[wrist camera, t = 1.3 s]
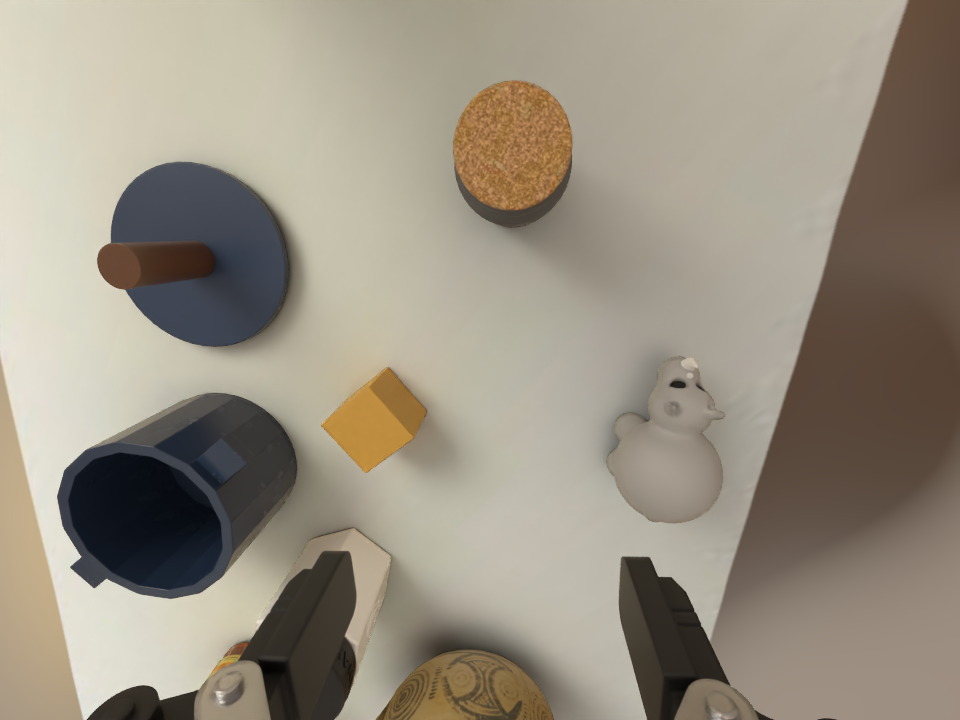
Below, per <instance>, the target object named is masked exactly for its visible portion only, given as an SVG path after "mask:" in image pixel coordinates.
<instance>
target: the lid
mask: <svg viewBox="0 0 960 720" xmlns="http://www.w3.org/2000/svg"><path fill="white" fill-rule="evenodd" d="M97 263H98V268H99V271H100V273H101V275H102V276H103V278H104V279H105V280H106V281H107V282H108V283H109V284H110V285H112V286H114V287H116V288H119V289H125V290H126V291H127V293H128V295H129V296H130V298H131V299H132V301H133V302H134V303H135V305H136V306H137V307H138V308H139V309H140V311H141V312H142V313H143V314H144V315H145V316H146V317H147V318H148V319H149V320H150V321H152V322H153V323H154V324H155V325H157V326H158V327H159V328H161V329H162V330H164V331H165V332H167V333H169V334H170V335H172V336H174V337H176V338H179V339H181V340H183V341H186V342H189V343H193V344H197V345H202V346H214V347H216V346H227V345H232V344H236V343H239V342H241V341H244V340H247V339H249V338H251V337H252V336H254V335H256V334H258V333H259V332H260V331H261V330H263V329H264V328H265V327H266V326H267V325H268V324H269V323H270V322H271V321H272V320H273V318H274V317H275V315H276V314H277V312H278V311H279V309H280V306H281V304H282V302H283V299H284V296H285V293H286V289H287V283H288V257H287V252H286V247H285V244H284V240H283V237H282V234H281V232H280V230H279V228H278V225H277V223H276V221H275V219H274V218H273V216H272V215H271V213H270V211H269V210H268V208H267V207H266V206H265V205H264V203H263V202H262V201H261V199H260V198H259V197H258V196H257V195H256V194H255V193H254V192H253V191H252V190H251V189H250V188H248V187H247V186H246V185H245V184H243V183H242V182H241V181H239V180H238V179H236V178H235V177H233V176H232V175H230V174H228V173H226V172H224V171H222V170H219V169H217V168H214V167H211V166H207V165H203V164H198V163H192V162H173V163H166V164H162V165H159V166H156V167H154V168H151V169H149V170H147V171H145V172H144V173H142V174H141V175H140V176H138V177H137V178H136V179H135V180H134V181H133V182H132V183H131V184H130V185H129V186H128V187H127V188H126V190H125V191H124V192H123V194H122V196H121V198H120V200H119V201H118V203H117V206H116V209H115V212H114V215H113V220H112V226H111V243H110V244H107V245H105V246H104V247H103V248H102V249H101V250H100V252H99V254H98V258H97Z"/></svg>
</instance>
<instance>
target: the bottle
mask: <svg viewBox="0 0 960 720" xmlns="http://www.w3.org/2000/svg"><path fill="white" fill-rule="evenodd" d="M453 154H454V160H455V174H456V180H457V183H458V186H459V189H460V191H461V193H462V195H463V197H464V199H465V200H466V202H467V203H468V204H469V206H470V207H471V208H472V209H473V210H474V211H475V212H476V213H478V214H479V215H480V216H481V217H483V218H485V219H486V220H488V221H490V222H493V223H495V224H498V225H501V226H505V227H520V226H524V225H527V224H530V223H532V222H534V221H536V220H538V219H539V218H541V217H542V216H544V215H545V214H546V213H547V212H549V211H550V210H551V209H552V208H553V207H554V206H555V205H556V203H557V202H558V201H559V199H560V198H561V196H562V195H563V193H564V191H565V189H566V187H567V184H568V181H569V178H570V173H571V167H572V134H571V128H570V124H569V121H568V118H567V116H566V114H565V112H564V110H563V108H562V107H561V105H560V104H559V102H558V101H557V100H556V99H555V98H554V97H553V96H552V95H551V94H550V93H549V92H548V91H546V90H544V89H543V88H541V87H539V86H537V85H535V84H532V83H528V82H524V81H505V82H501V83H497V84H494V85H492V86H490V87H488V88H486V89H485V90H483V91H481V92H480V93H479V94H478V95H477V96H475V97H474V98H473V99H472V100H471V101H470V103H469V104H468V105H467V107H466V108H465V110H464V111H463V113H462V115H461V117H460V118H459V121H458V124H457V127H456V130H455V135H454V141H453Z"/></svg>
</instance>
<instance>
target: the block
mask: <svg viewBox="0 0 960 720" xmlns="http://www.w3.org/2000/svg"><path fill="white" fill-rule="evenodd" d="M426 412H427V411H426V410H425V409H424V407H423V406H422V405H421V404H420V403H419V402H418V401H417V399H416V398H415V397H414V396H413V395H412V394H411V393H410V391H409V390H408V389H407V388H406V387H405V386H404V385H403V383H402V382H401V381H400V380H399V379H398V378H397V377H396V375H395V374H394V373H393V372H392V371H391V370H390V369H389V367H387V368H385V369H384V370H383V371H382V372H381V373H379V374H378V375H377V376H376V377H374V378H373V379H372V380H371V381H369V382H368V383H367V384H366V385H364V386H363V387H362V388H361V389H359V390H358V391H357V392H356V393H354V394H353V395H352V396H351V397H349V398H348V399H347V400H346V401H345V402H344V403H343V404H342V405H341V406H340V407H339V408H338V409H337V410H336V411H335V412H334V413H333V414H332V415H331V416H330V417H329V418H328V419H327V420H326V421H325V422H324V423H323V424H322V425H321V426H322V427H323V428H324V429H325V430H326V431H327V432H328V434H329V435H330V436H331V437H332V438H333V439H334V440H335V441H336V442H337V443H338V444H339V445H340V446H341V447H342V448H343V450H344V451H345V452H346V453H347V454H348V455H349V456H350V457H351V458H352V459H353V460H354V461H355V462H356V463H357V464H358V466H359V467H360V468H361V469H362V470H363V471H364V472H365V473H367V472H369V471H370V470H371V469H373V468H374V467H375V466H377V465H378V464H379V463H381V462H382V461H383V460H385V459H386V458H388V457H389V456H390V455H392V454H393V453H394V452H396V451H397V450H398V449H400V448H401V447H402V446H404V445H405V444H407V443H408V442H409V441H411V440H412V439H413V438H414V437H415V435H416V433H417V431H418V429H419V427H420V425H421V423H422V421H423V418H424V416H425V414H426Z"/></svg>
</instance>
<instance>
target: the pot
mask: <svg viewBox="0 0 960 720" xmlns="http://www.w3.org/2000/svg"><path fill="white" fill-rule="evenodd" d="M296 471H297V465H296V457H295V453H294V449H293V447H292V444H291V442H290V440H289V438H288V436H287V434H286V433H285V431H284V430H283V428H282V427H281V426H280V424H279V423H278V422H277V421H276V420H275V419H274V418H273V417H272V416H271V415H270V414H269V413H268V412H266V411H265V410H264V409H262V408H261V407H259V406H258V405H256V404H254V403H252V402H250V401H248V400H246V399H244V398H241V397H237V396H234V395H229V394H222V393H208V394H202V395H198V396H195V397H192V398H190V399H187V400H183V401H181V402H179V403H177V404H175V405H173V406H171V407H169V408H167V409H165V410H163V411H161V412H159V413H157V414H155V415H153V416H151V417H149V418H147V419H146V420H144V421H142V422H140V423H138V424H136V425H134V426H132V427H130V428H128V429H126V430H124V431H122V432H120V433H118V434H116V435H114V436H112V437H110V438H108V439H106V440H104V441H102V442H101V443H99V444H97V445H95V446H93V447H91V448H89V449H87V450H85V451H84V452H83V453H82V454H81V455H80V456H79V457H78V458H77V459H76V460H75V461H74V462H73V463H71V464H70V465H69V466H68V467H67V468H66V469H65V470H64V474H63V477H62V481H61V485H60V488H59V492H58V495H57V497H58V498H57V499H58V504H59V509H60V514H61V520H62V525H63V527H64V530H65V531H66V533H67V535H68V536H69V538H70V539H71V541H72V543H73V544H74V546H75V547H76V549H77V551H78V552H79V554H80V555H81V556H82V557H81V558H80V559H79V560H78V561H77V562H75V563H74V564H73V565H72V566H71V567H70V568H71V569H72V570H74V571H75V572H76V573H77V574H78V575H79V576H81V577H82V578H83V579H84V580H85V581H86V582H87V583H89V584H90V585H91V586H92V587H93V588H95V587H97V586H98V585H99V584H100V583H102V582H103V581H104V580H105V579H108V580H110V581H112V582H114V583H116V584H119V585H121V586H123V587H125V588H127V589H129V590H131V591H133V592H135V593H138V594H142V595H148V596H155V597H162V598H168V599H173V598H178V597H183V596H188V595H193V594H198V593H201V592H203V591H204V590H205V589H207V588H208V587H209V586H211V585H212V584H213V583H215V582H216V581H217V580H219V579H220V578H221V577H223V575H224V574H225V573H226V572H227V571H228V569H229V568H230V567H231V566H232V565H233V564H234V562H235V561H236V560H237V559H238V558H239V556H240V555H241V554H242V553H243V552H244V551H245V549H246V548H247V547H248V546H249V545H250V543H251V542H252V541H253V540H254V539H255V538H256V536H257V535H258V534H259V533H260V532H261V530H262V529H263V528H264V527H265V526H266V525H267V523H268V522H269V521H270V520H271V519H272V517H273V516H274V515H275V514H276V513H277V512H278V510H279V509H280V508H281V507H282V506H283V504H284V503H285V501H286V499H287V498H288V496H289V494H290V493H291V491H292V489H293V486H294V484H295V479H296Z"/></svg>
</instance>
